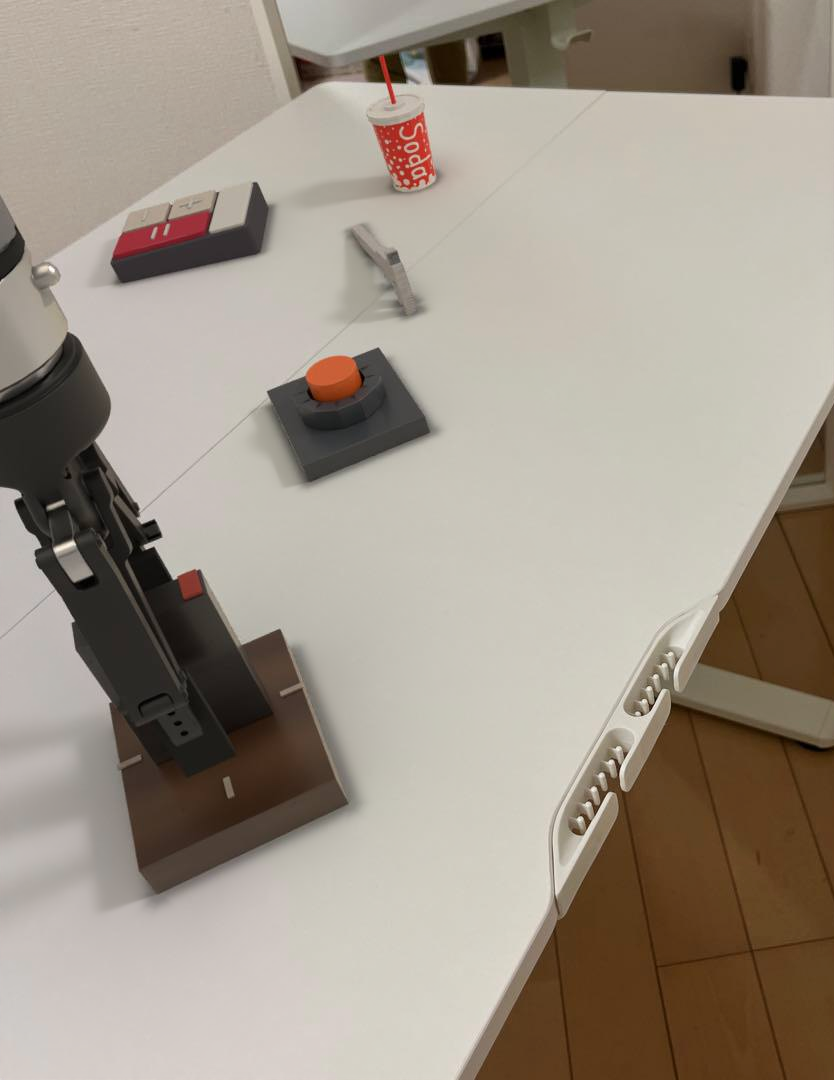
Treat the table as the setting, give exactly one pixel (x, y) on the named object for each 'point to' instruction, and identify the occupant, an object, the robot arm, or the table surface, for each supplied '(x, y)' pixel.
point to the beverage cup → (403, 137)
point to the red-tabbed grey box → (195, 658)
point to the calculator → (191, 232)
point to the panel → (231, 781)
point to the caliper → (388, 267)
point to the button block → (348, 418)
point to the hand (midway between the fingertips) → (193, 695)
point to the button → (333, 378)
